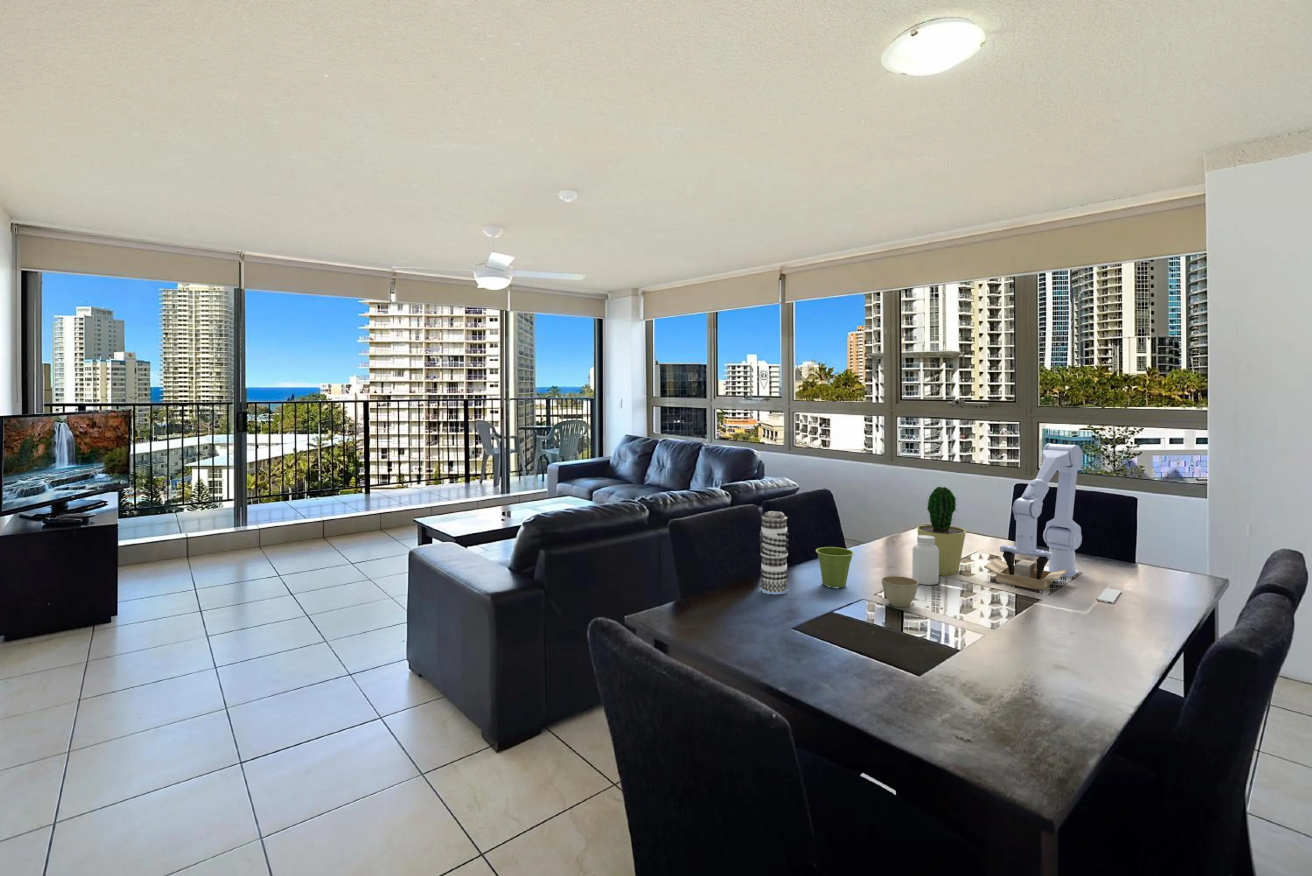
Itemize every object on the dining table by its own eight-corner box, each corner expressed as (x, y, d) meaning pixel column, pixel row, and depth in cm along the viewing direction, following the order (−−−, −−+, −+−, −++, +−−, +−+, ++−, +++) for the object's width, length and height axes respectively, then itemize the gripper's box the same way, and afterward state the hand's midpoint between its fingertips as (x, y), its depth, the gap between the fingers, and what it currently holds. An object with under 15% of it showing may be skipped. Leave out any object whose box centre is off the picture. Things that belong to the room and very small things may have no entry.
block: (1021, 577, 205) (1021, 559, 204) (1035, 579, 202) (1035, 561, 202) (1014, 582, 199) (1014, 564, 199) (1028, 585, 196) (1029, 566, 196)
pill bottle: (933, 578, 207) (934, 534, 206) (942, 586, 199) (943, 539, 198) (908, 578, 208) (909, 533, 206) (916, 585, 200) (917, 539, 199)
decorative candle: (787, 586, 200) (787, 509, 198) (790, 596, 191) (790, 515, 189) (758, 586, 201) (758, 509, 199) (760, 595, 191) (760, 515, 190)
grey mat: (1075, 584, 199) (1075, 582, 199) (1121, 592, 190) (1121, 590, 190) (1064, 594, 189) (1064, 593, 189) (1113, 603, 180) (1113, 601, 180)
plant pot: (858, 591, 195) (858, 555, 194) (820, 591, 195) (820, 555, 194) (847, 579, 206) (847, 546, 206) (811, 580, 207) (811, 546, 206)
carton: (995, 572, 213) (996, 558, 212) (1067, 585, 198) (1068, 569, 198) (983, 581, 203) (983, 566, 203) (1057, 594, 189) (1058, 578, 188)
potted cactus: (918, 575, 210) (920, 487, 208) (913, 563, 225) (915, 481, 223) (968, 579, 206) (970, 489, 204) (960, 566, 220) (962, 482, 218)
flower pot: (921, 611, 176) (921, 586, 175) (884, 609, 178) (884, 584, 177) (914, 599, 186) (914, 576, 185) (879, 598, 188) (879, 574, 187)
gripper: (997, 534, 202) (996, 575, 203) (1049, 541, 192) (1047, 584, 193) (1004, 530, 207) (1003, 571, 208) (1054, 537, 197) (1053, 579, 198)
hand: (1024, 577), depth 200 cm, fingers open, 7 cm apart
